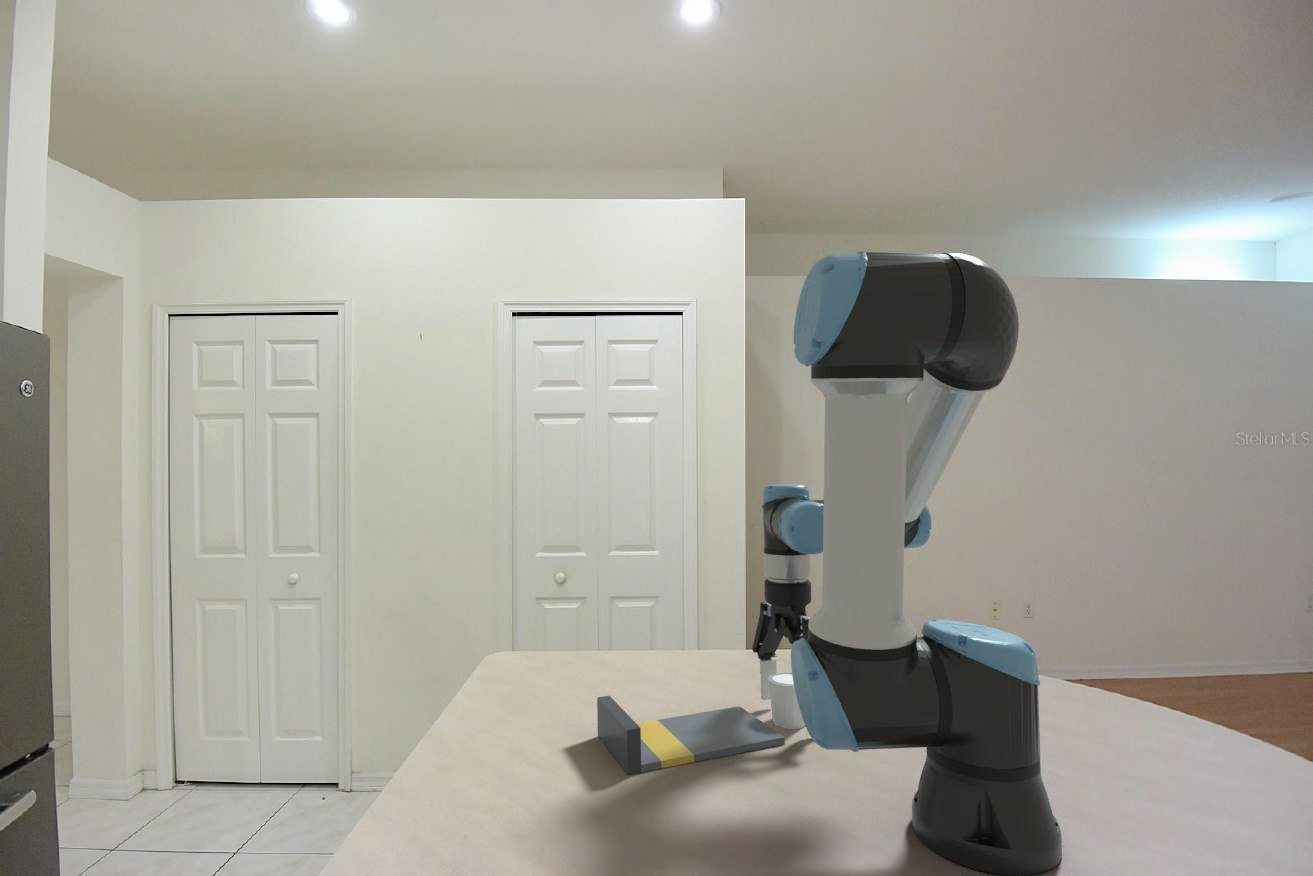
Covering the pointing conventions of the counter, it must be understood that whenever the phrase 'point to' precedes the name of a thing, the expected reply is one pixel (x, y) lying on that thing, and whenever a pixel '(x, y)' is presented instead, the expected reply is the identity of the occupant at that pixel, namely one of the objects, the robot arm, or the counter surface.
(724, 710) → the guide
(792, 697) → the shot glass
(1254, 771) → the counter surface
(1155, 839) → the counter surface
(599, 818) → the counter surface
